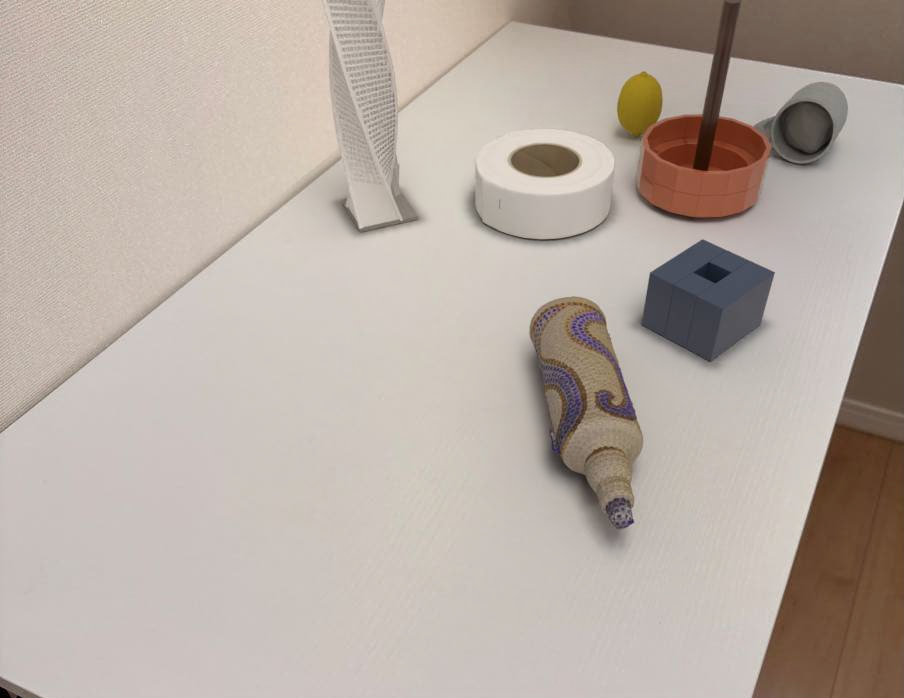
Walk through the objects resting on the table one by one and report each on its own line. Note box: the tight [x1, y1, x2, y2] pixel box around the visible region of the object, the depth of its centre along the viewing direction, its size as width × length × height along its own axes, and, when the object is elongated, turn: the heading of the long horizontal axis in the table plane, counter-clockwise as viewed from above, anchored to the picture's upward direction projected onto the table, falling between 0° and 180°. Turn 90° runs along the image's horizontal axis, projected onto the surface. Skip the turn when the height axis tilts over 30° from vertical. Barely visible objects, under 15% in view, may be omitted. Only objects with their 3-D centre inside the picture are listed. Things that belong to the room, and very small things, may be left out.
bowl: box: [635, 113, 773, 219], centre depth 109 cm, size 14×14×6 cm
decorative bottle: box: [528, 295, 644, 530], centre depth 80 cm, size 26×8×7 cm, turn 5°
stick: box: [693, 0, 743, 171], centre depth 103 cm, size 2×2×20 cm
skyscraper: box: [321, 0, 419, 233], centre depth 98 cm, size 8×8×28 cm
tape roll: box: [474, 128, 616, 240], centre depth 107 cm, size 16×16×6 cm
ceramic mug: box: [752, 81, 849, 165], centre depth 115 cm, size 11×8×8 cm
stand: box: [641, 238, 776, 363], centre depth 91 cm, size 8×8×6 cm
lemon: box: [616, 70, 664, 138], centre depth 117 cm, size 6×6×8 cm
